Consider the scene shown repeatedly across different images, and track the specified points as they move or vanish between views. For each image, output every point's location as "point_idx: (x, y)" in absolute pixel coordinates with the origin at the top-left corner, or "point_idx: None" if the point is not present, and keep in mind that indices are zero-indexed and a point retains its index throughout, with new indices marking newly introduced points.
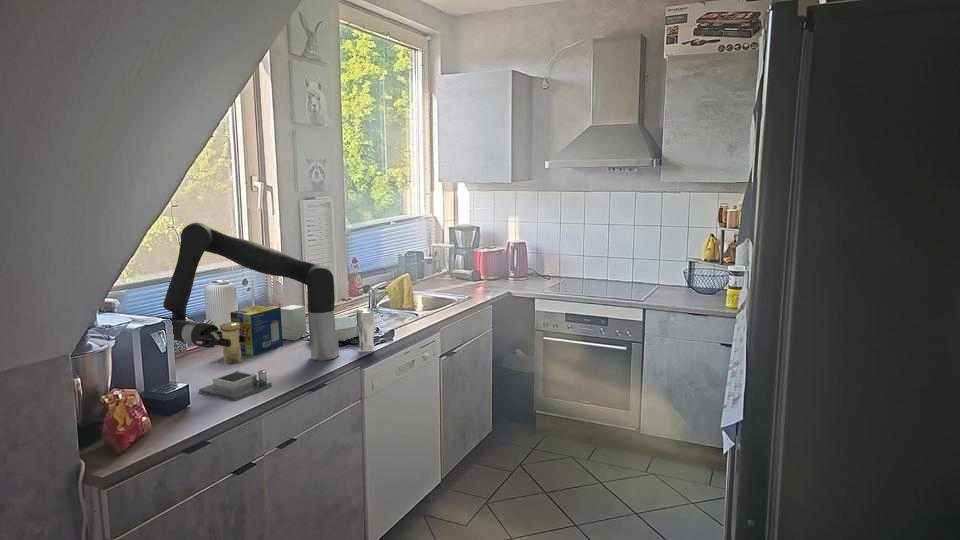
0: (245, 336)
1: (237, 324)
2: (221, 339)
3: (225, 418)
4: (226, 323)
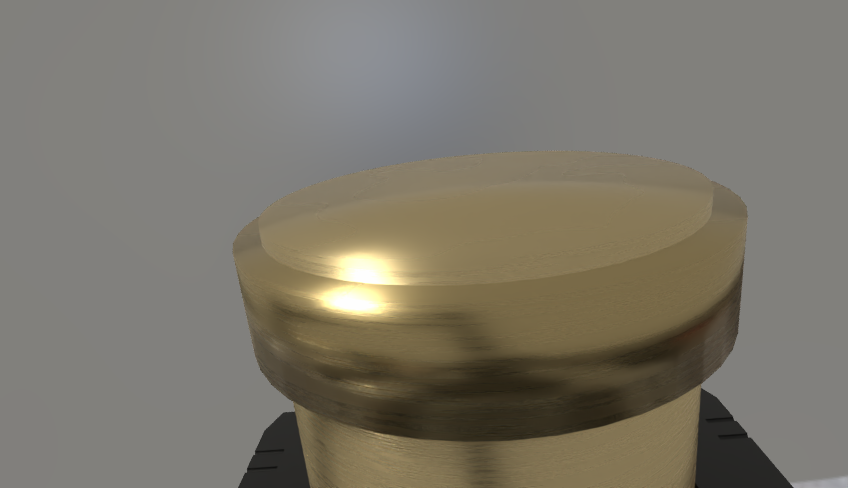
0: (286, 419)
1: (408, 164)
2: (739, 477)
3: (818, 482)
4: (474, 232)
